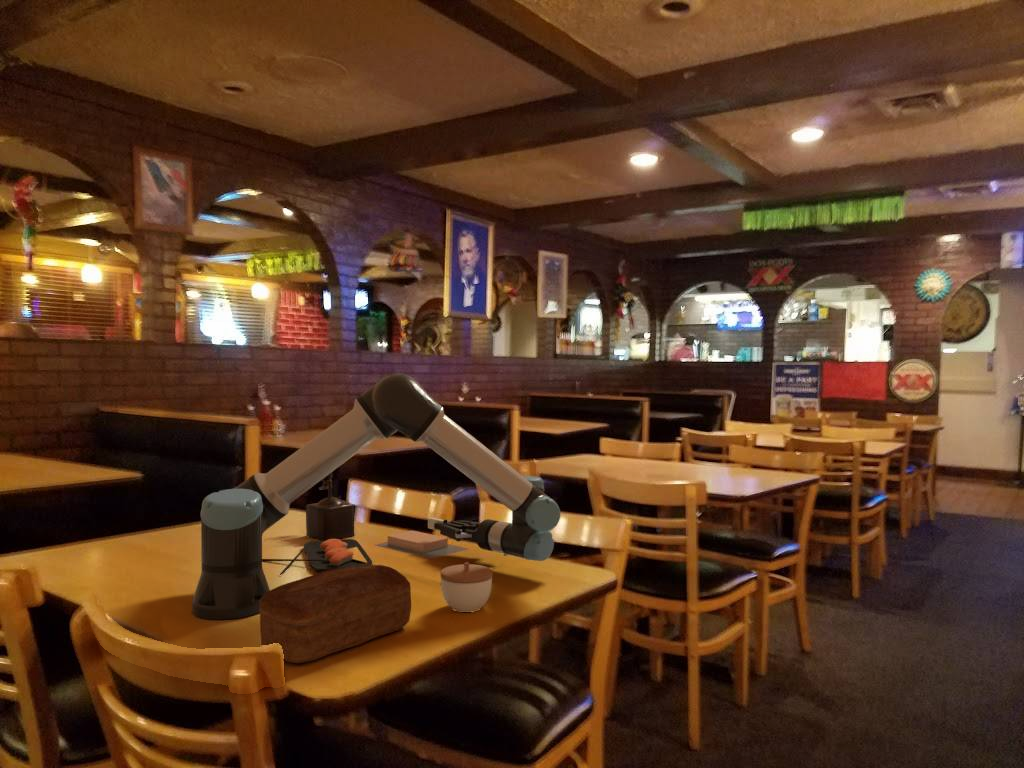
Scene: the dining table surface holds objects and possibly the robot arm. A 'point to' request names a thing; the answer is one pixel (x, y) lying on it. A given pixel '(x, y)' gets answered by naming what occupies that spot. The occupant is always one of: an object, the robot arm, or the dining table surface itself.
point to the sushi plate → (329, 555)
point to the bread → (334, 610)
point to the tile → (417, 541)
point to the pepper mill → (329, 516)
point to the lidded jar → (466, 586)
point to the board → (429, 555)
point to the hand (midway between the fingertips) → (429, 522)
